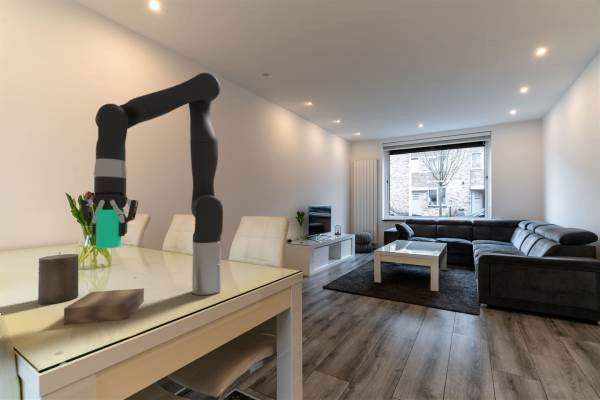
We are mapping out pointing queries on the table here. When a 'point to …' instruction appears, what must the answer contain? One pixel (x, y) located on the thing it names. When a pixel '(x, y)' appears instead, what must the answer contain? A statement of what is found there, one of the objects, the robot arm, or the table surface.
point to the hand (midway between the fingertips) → (110, 236)
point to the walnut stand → (104, 306)
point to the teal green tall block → (107, 229)
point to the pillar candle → (58, 278)
